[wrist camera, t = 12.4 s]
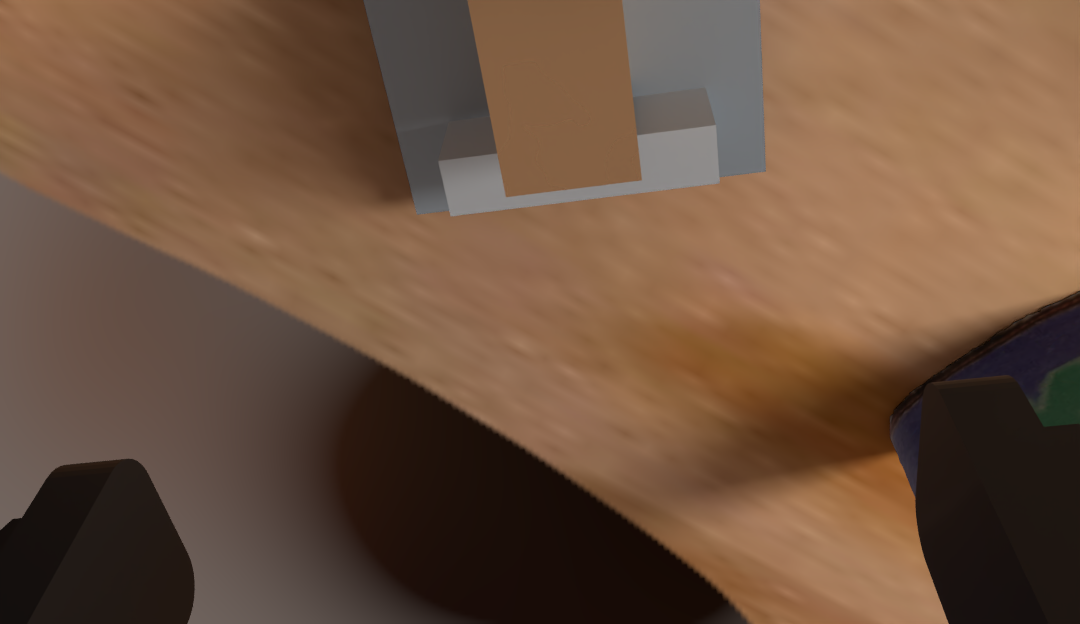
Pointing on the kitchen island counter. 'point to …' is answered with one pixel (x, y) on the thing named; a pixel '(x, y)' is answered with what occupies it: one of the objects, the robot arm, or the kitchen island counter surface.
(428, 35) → the grey ridged tray
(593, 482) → the kitchen island counter surface
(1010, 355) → the flask
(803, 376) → the kitchen island counter surface
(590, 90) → the brown wooden block
